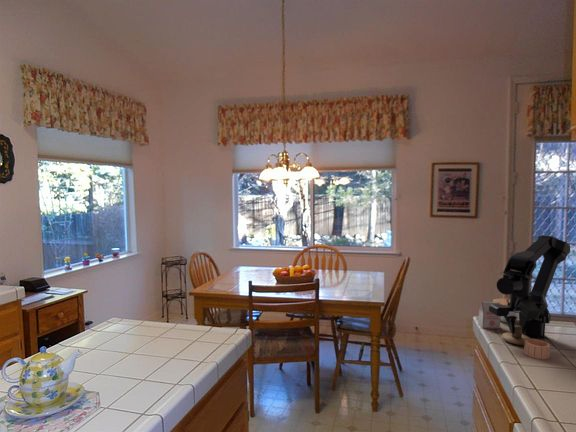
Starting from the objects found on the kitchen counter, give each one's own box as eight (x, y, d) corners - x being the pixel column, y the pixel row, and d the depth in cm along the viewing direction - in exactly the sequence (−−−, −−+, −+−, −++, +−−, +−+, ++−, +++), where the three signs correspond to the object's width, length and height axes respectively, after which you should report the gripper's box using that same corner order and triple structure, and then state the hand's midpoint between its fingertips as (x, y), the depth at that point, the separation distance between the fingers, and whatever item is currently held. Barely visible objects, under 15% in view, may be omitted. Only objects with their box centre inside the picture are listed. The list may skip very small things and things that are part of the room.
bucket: (539, 350, 132) (540, 338, 132) (554, 359, 125) (555, 347, 125) (519, 350, 132) (520, 338, 131) (533, 359, 125) (534, 347, 124)
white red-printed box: (478, 324, 155) (479, 300, 155) (495, 325, 155) (496, 301, 155) (482, 328, 152) (484, 303, 151) (499, 328, 152) (501, 303, 151)
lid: (520, 335, 143) (521, 322, 143) (537, 345, 134) (538, 331, 134) (497, 335, 143) (497, 321, 142) (512, 345, 134) (513, 331, 134)
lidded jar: (525, 325, 156) (526, 302, 155) (496, 323, 158) (497, 300, 157) (515, 317, 166) (516, 295, 165) (488, 314, 168) (489, 293, 168)
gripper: (508, 296, 129) (505, 342, 130) (562, 297, 130) (558, 342, 131) (489, 288, 140) (486, 330, 141) (539, 288, 141) (536, 330, 142)
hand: (516, 333), depth 138 cm, fingers closed on lid, 3 cm apart
